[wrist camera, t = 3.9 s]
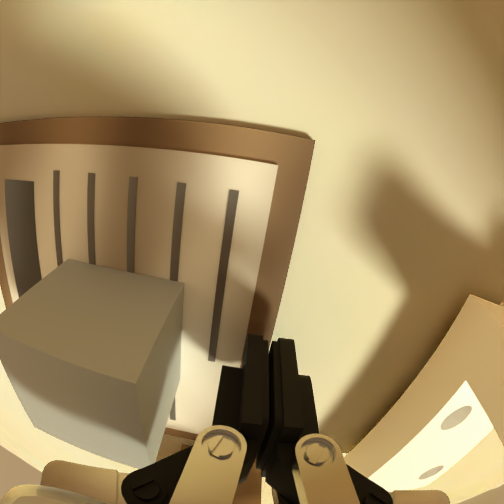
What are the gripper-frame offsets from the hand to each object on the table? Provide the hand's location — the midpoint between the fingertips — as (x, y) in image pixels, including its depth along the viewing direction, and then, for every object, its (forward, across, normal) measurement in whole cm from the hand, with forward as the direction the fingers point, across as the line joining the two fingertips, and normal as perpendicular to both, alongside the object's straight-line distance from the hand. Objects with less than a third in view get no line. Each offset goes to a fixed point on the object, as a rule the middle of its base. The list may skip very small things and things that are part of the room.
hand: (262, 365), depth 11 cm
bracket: (+2, -11, +3) cm, 11 cm away
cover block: (+1, +6, 0) cm, 6 cm away
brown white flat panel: (+1, +7, 0) cm, 7 cm away
